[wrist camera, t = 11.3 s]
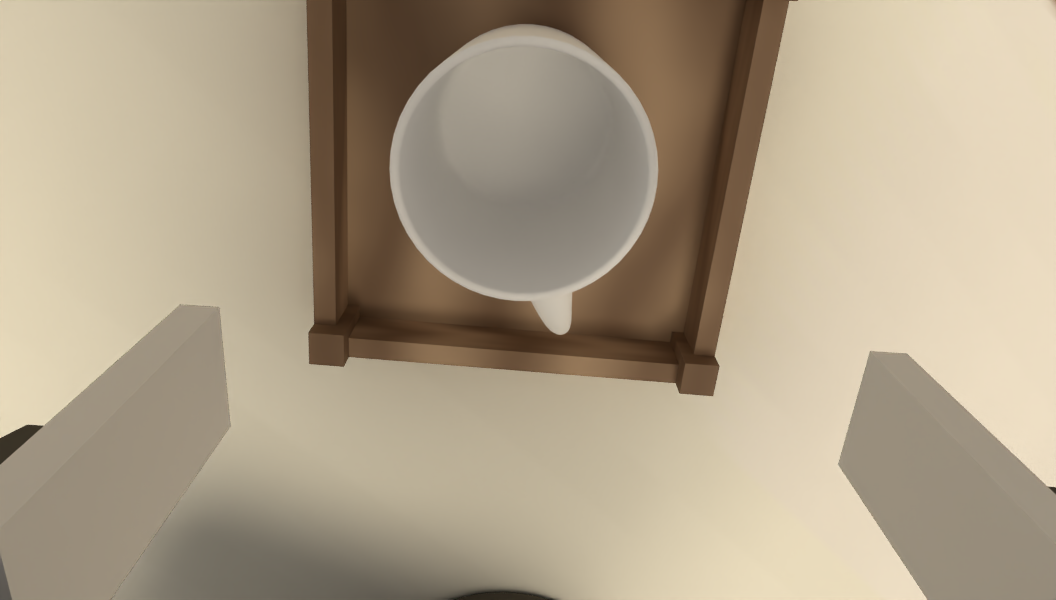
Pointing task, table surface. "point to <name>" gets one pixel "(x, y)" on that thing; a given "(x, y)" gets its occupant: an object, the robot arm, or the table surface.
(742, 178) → the wooden tray
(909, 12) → the table surface
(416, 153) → the mug
